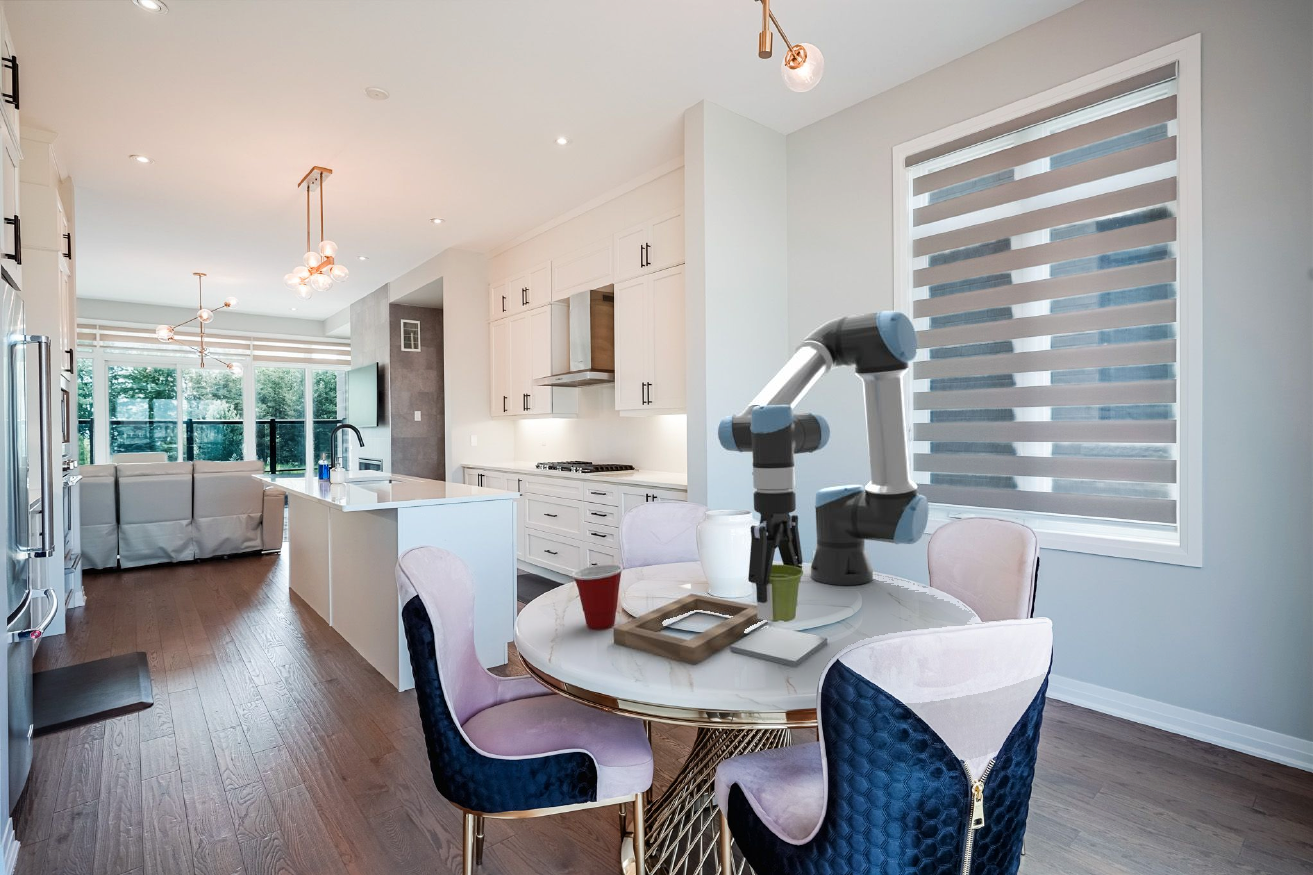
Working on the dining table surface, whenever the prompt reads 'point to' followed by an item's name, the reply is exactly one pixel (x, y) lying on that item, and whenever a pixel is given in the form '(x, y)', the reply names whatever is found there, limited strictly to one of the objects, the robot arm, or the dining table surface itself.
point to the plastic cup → (599, 593)
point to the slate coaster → (779, 645)
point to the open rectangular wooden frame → (696, 649)
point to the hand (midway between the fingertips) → (778, 611)
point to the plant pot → (784, 591)
